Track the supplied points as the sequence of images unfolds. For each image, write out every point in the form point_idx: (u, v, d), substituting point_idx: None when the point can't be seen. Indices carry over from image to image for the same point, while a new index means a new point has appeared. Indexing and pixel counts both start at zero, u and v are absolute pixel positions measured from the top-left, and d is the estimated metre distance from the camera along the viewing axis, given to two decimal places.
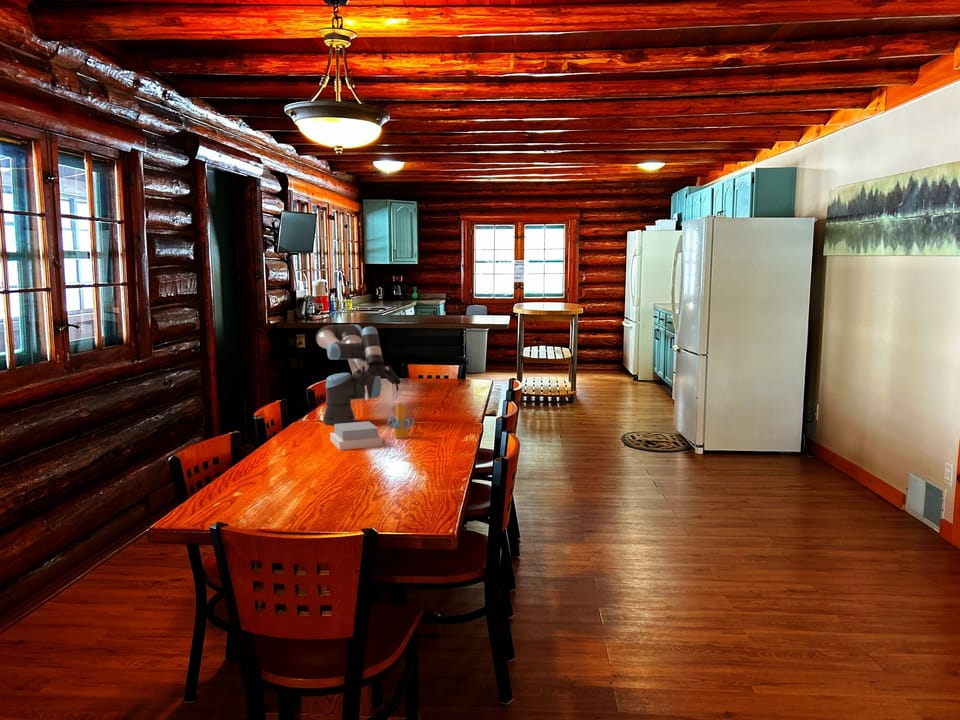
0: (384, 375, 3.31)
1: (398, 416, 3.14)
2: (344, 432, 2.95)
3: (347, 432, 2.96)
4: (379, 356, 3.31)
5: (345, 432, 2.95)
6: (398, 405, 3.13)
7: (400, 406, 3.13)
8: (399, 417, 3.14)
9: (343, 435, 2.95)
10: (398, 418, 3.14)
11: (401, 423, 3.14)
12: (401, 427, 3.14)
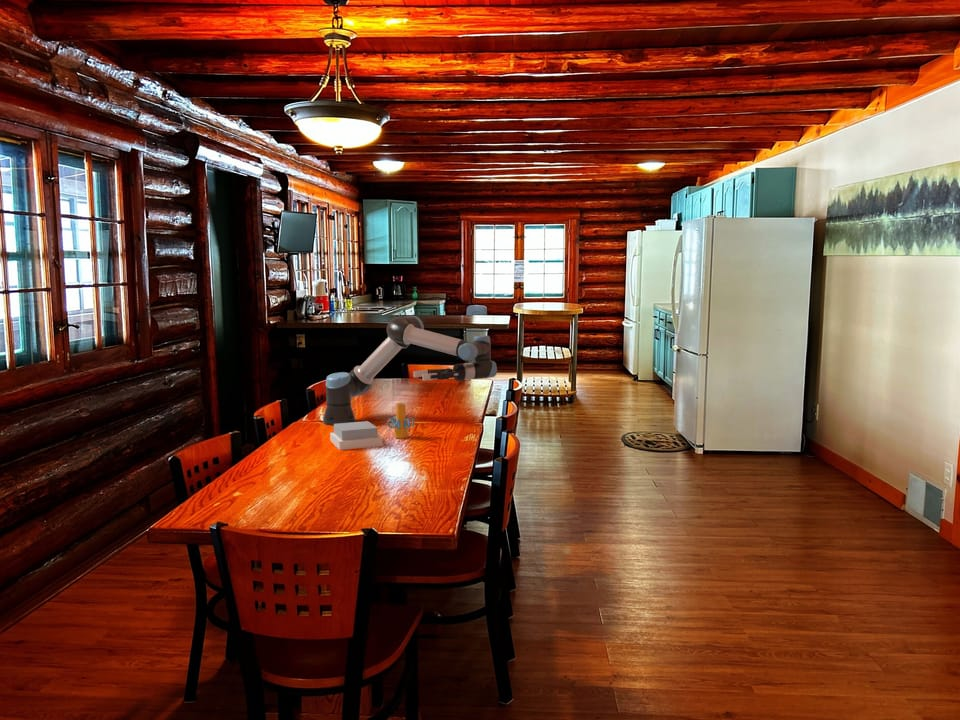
0: (440, 373, 3.24)
1: (398, 416, 3.14)
2: (344, 432, 2.95)
3: (347, 432, 2.96)
4: None
5: (345, 432, 2.95)
6: (398, 405, 3.13)
7: (400, 406, 3.13)
8: (399, 417, 3.14)
9: (343, 435, 2.95)
10: (398, 418, 3.14)
11: (401, 423, 3.14)
12: (401, 427, 3.14)
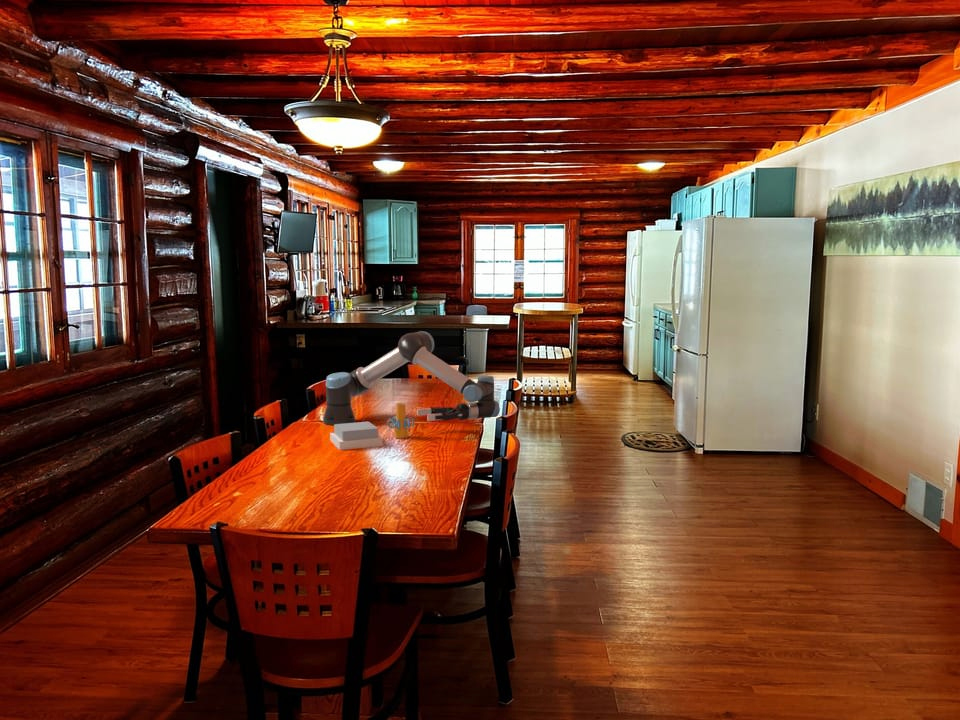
0: (444, 411, 3.27)
1: (398, 416, 3.14)
2: (344, 432, 2.95)
3: (347, 432, 2.96)
4: None
5: (345, 432, 2.95)
6: (398, 405, 3.13)
7: (400, 406, 3.13)
8: (399, 417, 3.14)
9: (343, 435, 2.95)
10: (398, 418, 3.14)
11: (401, 423, 3.14)
12: (401, 427, 3.14)
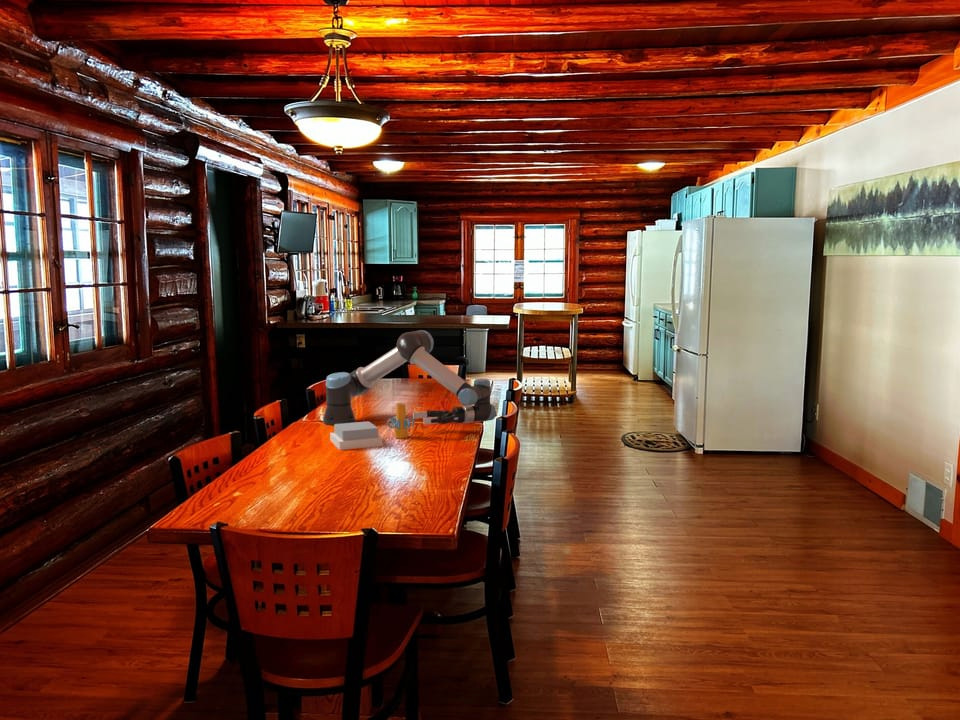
0: (440, 415, 3.26)
1: (398, 416, 3.14)
2: (344, 432, 2.95)
3: (347, 432, 2.96)
4: None
5: (345, 432, 2.95)
6: (398, 405, 3.13)
7: (400, 406, 3.13)
8: (399, 417, 3.14)
9: (343, 435, 2.95)
10: (398, 418, 3.14)
11: (401, 423, 3.14)
12: (401, 427, 3.14)
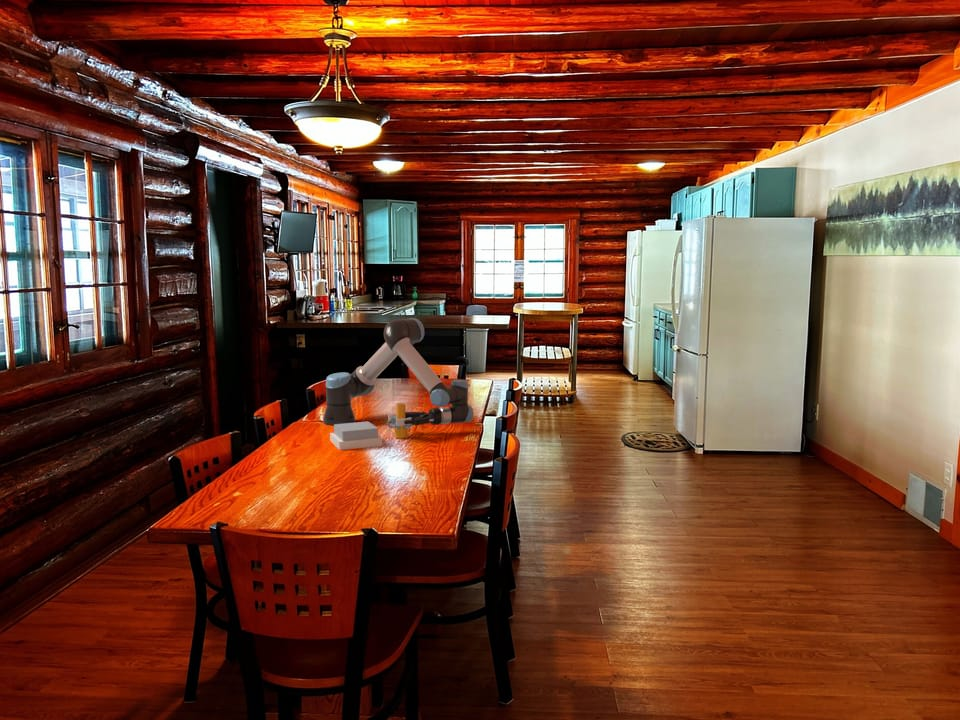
0: (416, 416, 3.22)
1: (398, 416, 3.14)
2: (344, 432, 2.95)
3: (347, 432, 2.96)
4: None
5: (345, 432, 2.95)
6: (398, 405, 3.13)
7: (400, 406, 3.13)
8: (399, 417, 3.14)
9: (343, 435, 2.95)
10: (398, 418, 3.14)
11: None
12: (401, 427, 3.14)
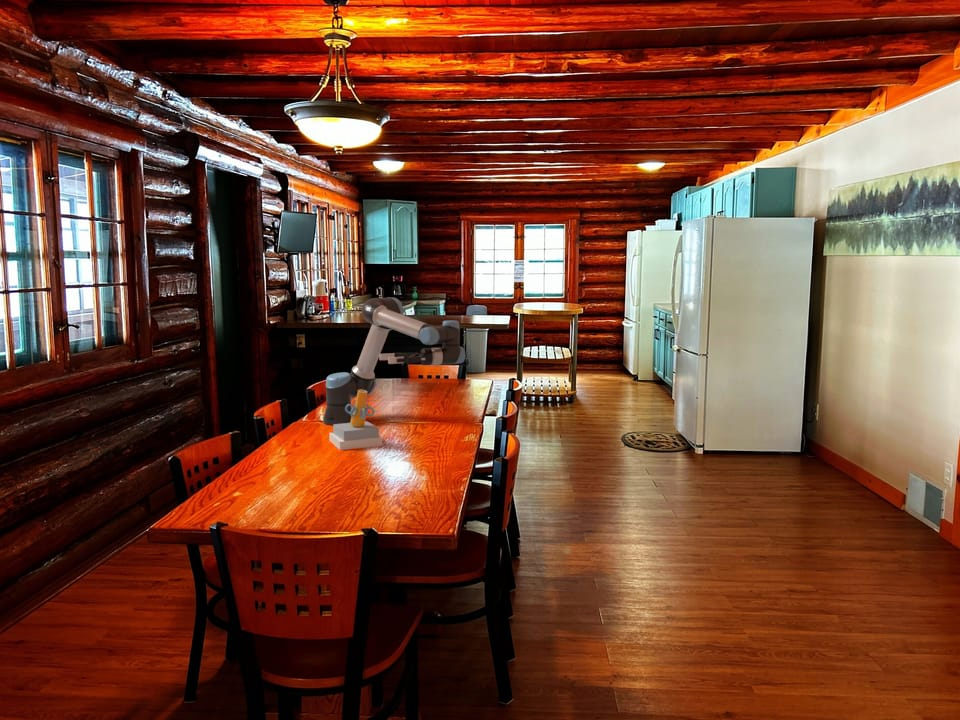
0: (407, 357, 3.17)
1: (357, 403, 3.01)
2: (345, 432, 2.95)
3: (348, 432, 2.96)
4: None
5: (346, 432, 2.95)
6: (358, 392, 3.00)
7: (360, 393, 2.99)
8: (357, 405, 3.01)
9: (344, 435, 2.95)
10: (356, 405, 3.01)
11: (358, 411, 3.01)
12: (357, 415, 3.01)
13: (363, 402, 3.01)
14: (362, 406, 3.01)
